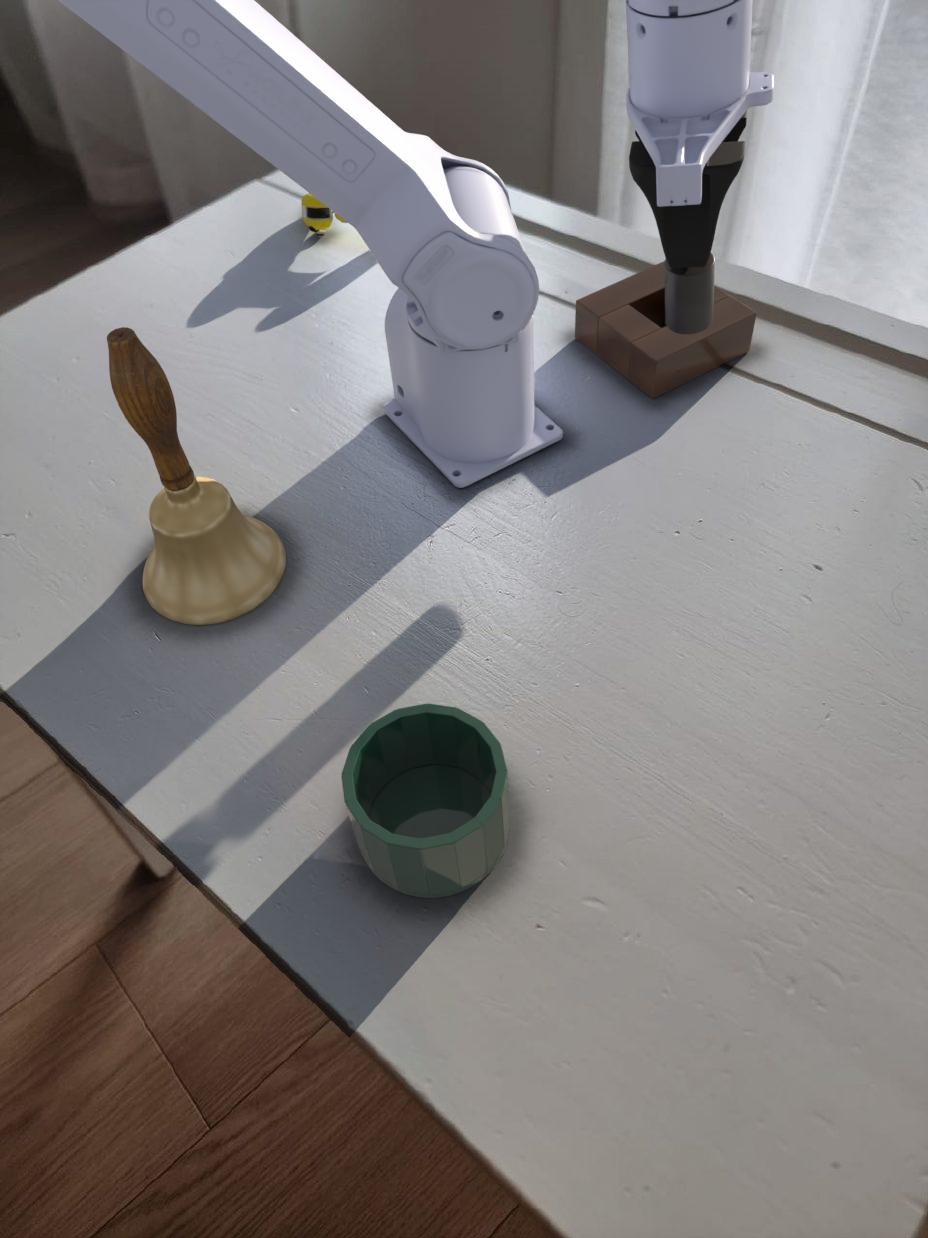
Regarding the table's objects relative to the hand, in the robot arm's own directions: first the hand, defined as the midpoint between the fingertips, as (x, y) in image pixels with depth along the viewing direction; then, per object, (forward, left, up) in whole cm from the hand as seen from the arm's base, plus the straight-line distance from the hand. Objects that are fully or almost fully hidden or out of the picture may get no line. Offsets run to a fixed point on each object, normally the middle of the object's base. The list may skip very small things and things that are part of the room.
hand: (688, 254), depth 56 cm
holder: (-5, +4, -11) cm, 12 cm away
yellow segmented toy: (-31, -5, -11) cm, 34 cm away
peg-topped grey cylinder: (0, +1, -4) cm, 4 cm away
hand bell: (-4, -30, -11) cm, 32 cm away
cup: (+17, -28, -11) cm, 35 cm away
